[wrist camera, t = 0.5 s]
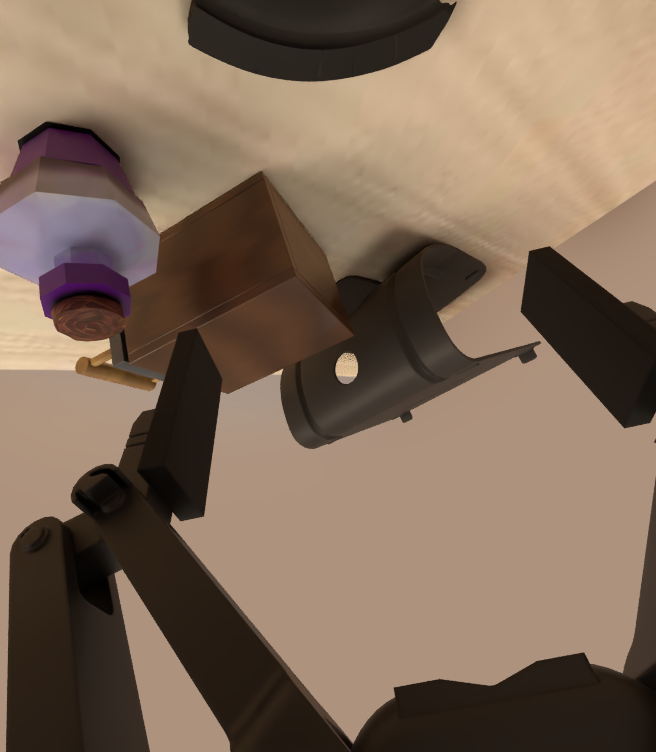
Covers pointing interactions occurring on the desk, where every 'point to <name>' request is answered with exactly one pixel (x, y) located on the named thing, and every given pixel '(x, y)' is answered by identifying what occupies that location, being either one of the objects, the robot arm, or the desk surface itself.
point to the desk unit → (238, 289)
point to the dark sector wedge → (315, 34)
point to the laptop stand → (388, 351)
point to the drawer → (118, 367)
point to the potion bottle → (75, 230)
